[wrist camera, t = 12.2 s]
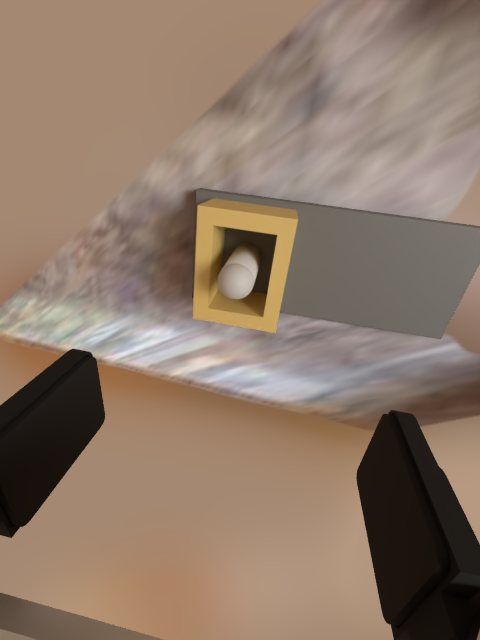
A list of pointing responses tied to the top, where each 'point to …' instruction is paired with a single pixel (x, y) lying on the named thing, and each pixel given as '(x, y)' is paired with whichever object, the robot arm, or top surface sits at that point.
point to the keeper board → (355, 265)
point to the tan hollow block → (210, 238)
